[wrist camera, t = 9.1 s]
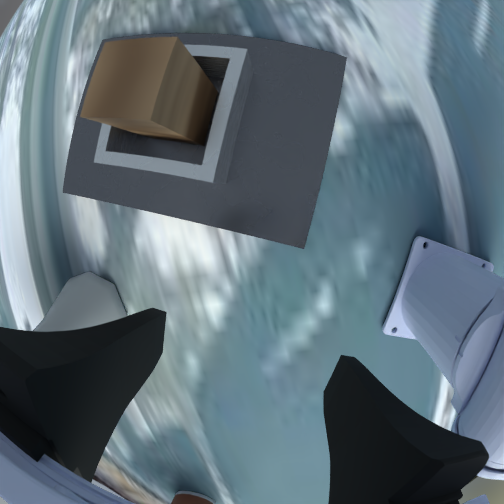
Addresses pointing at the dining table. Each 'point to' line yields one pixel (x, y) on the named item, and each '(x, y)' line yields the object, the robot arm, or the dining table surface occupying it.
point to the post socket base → (226, 142)
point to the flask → (83, 305)
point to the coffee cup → (191, 498)
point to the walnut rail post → (151, 90)
